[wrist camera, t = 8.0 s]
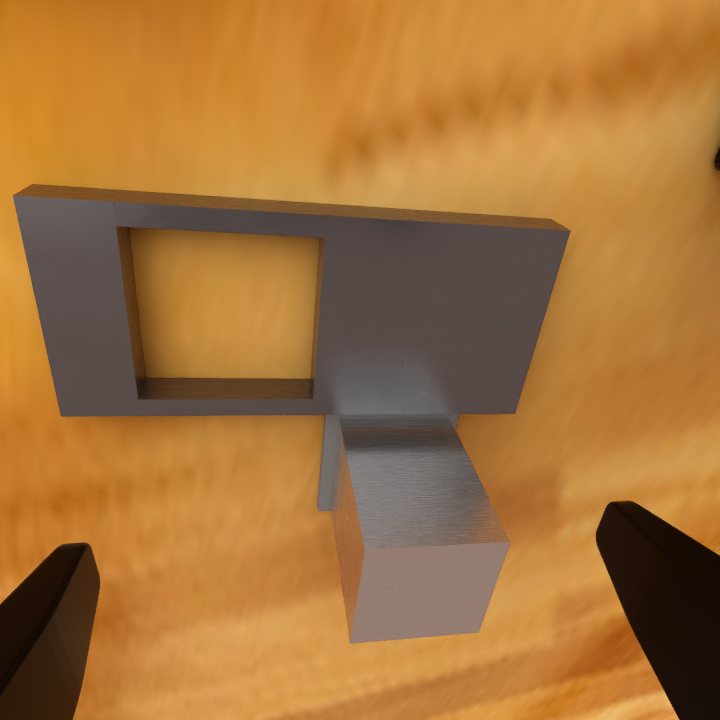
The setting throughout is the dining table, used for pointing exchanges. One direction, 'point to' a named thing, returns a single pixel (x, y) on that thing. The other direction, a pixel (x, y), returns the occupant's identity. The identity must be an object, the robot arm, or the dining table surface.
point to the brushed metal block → (412, 530)
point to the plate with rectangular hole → (332, 307)
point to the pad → (330, 448)
